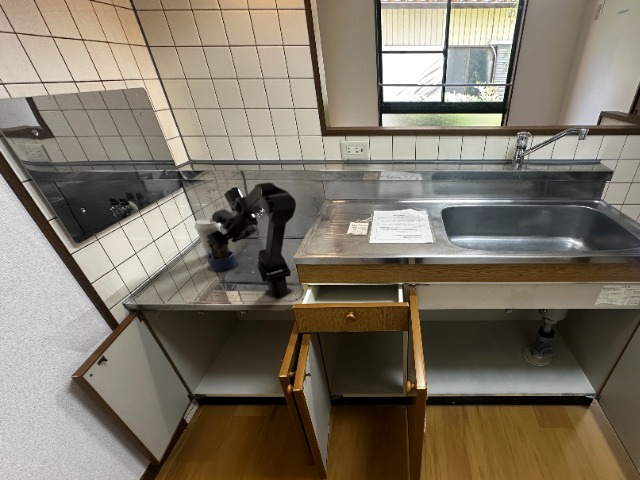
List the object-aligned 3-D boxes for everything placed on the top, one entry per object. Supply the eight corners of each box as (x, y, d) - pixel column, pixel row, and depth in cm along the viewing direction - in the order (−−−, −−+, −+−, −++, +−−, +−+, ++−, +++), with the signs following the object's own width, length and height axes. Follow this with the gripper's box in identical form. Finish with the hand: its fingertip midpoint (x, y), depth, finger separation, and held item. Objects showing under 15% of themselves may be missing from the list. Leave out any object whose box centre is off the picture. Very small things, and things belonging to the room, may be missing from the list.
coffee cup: (222, 259, 136) (213, 225, 128) (198, 259, 135) (188, 224, 127) (231, 250, 144) (223, 217, 136) (208, 250, 143) (199, 217, 135)
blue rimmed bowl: (241, 265, 133) (238, 254, 130) (218, 273, 125) (215, 261, 123) (227, 258, 137) (224, 247, 134) (204, 266, 130) (201, 255, 127)
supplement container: (224, 260, 135) (218, 236, 129) (235, 263, 132) (230, 239, 127) (209, 265, 129) (202, 241, 124) (221, 270, 127) (215, 245, 122)
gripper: (244, 198, 123) (227, 222, 131) (203, 210, 108) (187, 236, 116) (264, 221, 125) (246, 243, 133) (228, 236, 110) (210, 260, 118)
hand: (223, 245), depth 125 cm, fingers open, 9 cm apart
